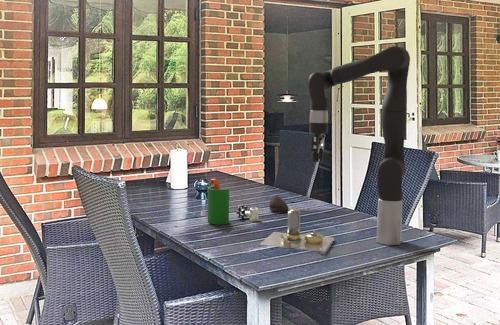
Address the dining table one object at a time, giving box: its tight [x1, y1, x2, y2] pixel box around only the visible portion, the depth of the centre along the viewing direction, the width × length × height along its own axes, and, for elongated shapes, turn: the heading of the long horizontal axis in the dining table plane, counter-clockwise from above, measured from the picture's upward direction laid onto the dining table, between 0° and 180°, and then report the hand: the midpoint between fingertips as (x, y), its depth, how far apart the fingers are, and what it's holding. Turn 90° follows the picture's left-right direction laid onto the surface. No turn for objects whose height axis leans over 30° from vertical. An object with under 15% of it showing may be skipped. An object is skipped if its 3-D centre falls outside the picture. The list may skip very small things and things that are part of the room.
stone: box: [268, 195, 289, 212], centre depth 261 cm, size 10×8×10 cm
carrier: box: [259, 231, 335, 255], centre depth 205 cm, size 25×19×4 cm
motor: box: [207, 178, 230, 226], centre depth 237 cm, size 10×9×20 cm
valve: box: [235, 204, 260, 222], centre depth 240 cm, size 7×7×12 cm
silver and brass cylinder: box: [285, 208, 302, 241], centre depth 207 cm, size 6×6×12 cm
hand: (318, 160), depth 220 cm, fingers open, 8 cm apart
